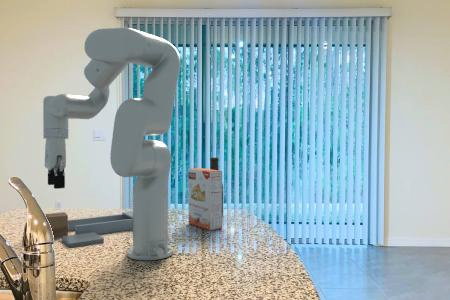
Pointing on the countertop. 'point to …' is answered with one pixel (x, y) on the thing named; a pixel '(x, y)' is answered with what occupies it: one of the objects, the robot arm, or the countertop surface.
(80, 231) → the channel
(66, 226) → the block
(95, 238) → the coaster
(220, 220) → the cracker box
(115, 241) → the countertop surface
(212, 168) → the beer bottle
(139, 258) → the robot arm
